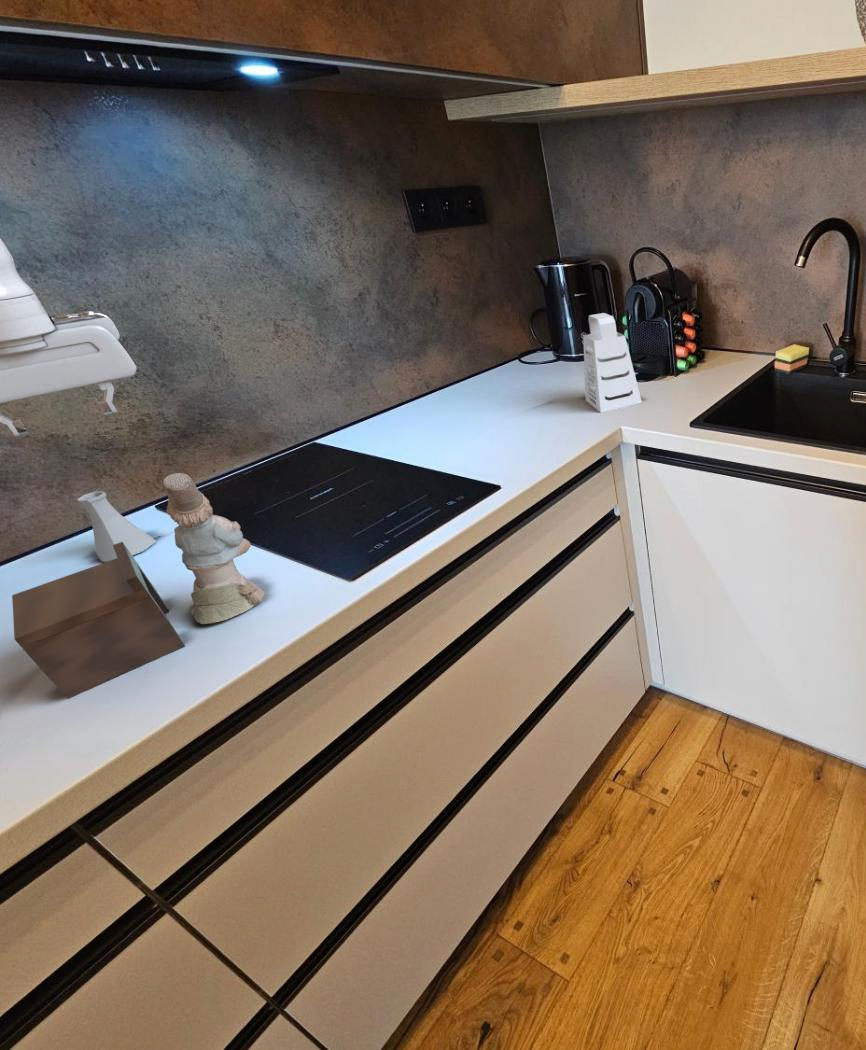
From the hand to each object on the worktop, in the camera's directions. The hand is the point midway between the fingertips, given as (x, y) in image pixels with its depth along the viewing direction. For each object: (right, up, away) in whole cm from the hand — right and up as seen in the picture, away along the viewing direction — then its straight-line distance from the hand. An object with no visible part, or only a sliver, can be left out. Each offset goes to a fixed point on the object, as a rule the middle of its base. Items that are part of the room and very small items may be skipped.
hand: (68, 423), depth 83 cm
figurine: (+27, -25, -4) cm, 37 cm away
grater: (+69, +15, +58) cm, 92 cm away
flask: (-2, -19, +11) cm, 22 cm away
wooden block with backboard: (+18, -30, -10) cm, 36 cm away
